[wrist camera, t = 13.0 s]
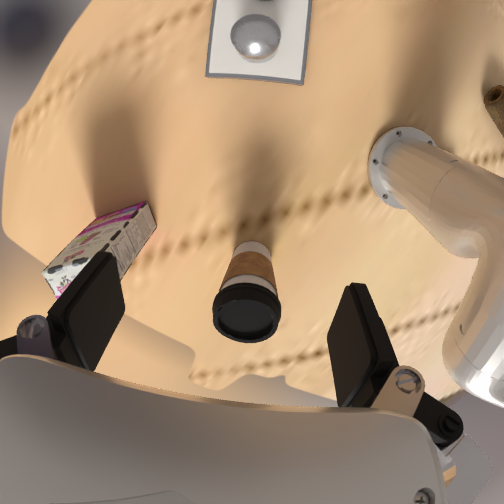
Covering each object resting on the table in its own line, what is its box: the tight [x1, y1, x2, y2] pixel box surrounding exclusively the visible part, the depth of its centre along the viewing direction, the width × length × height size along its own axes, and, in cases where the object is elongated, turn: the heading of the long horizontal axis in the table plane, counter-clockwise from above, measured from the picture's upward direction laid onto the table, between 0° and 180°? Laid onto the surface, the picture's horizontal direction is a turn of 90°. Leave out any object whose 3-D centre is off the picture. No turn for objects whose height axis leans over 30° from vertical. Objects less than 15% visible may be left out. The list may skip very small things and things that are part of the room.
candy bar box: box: [42, 201, 157, 299], centre depth 36 cm, size 11×5×16 cm, turn 105°
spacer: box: [230, 14, 281, 63], centre depth 25 cm, size 5×5×6 cm
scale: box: [205, 0, 312, 86], centre depth 24 cm, size 12×22×5 cm, turn 175°
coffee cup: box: [212, 241, 281, 343], centre depth 39 cm, size 8×8×15 cm
